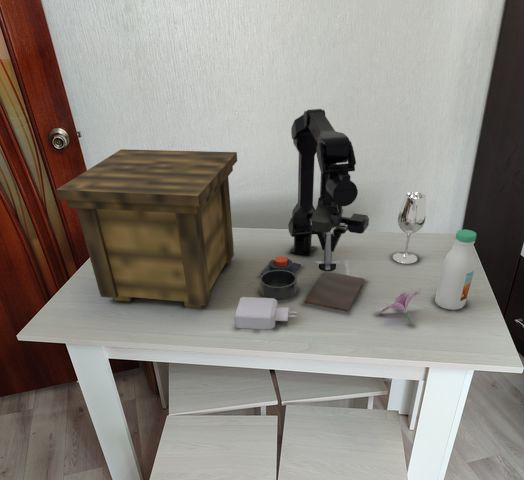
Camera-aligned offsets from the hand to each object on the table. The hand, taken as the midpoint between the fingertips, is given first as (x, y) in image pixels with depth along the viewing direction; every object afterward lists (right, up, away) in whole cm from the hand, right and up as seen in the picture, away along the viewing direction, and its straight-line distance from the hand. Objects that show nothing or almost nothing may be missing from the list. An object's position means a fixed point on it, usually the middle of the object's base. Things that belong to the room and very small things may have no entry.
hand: (328, 250), depth 124 cm
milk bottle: (+33, -14, +2) cm, 36 cm away
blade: (0, -4, +3) cm, 5 cm away
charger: (-16, -19, -2) cm, 25 cm away
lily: (+18, -18, -3) cm, 26 cm away
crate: (-44, -6, +16) cm, 48 cm away
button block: (-12, -3, +19) cm, 22 cm away
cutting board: (+3, -10, +8) cm, 13 cm away
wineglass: (+27, +2, +23) cm, 36 cm away
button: (-12, -1, +17) cm, 21 cm away
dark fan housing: (-13, -10, +9) cm, 19 cm away
